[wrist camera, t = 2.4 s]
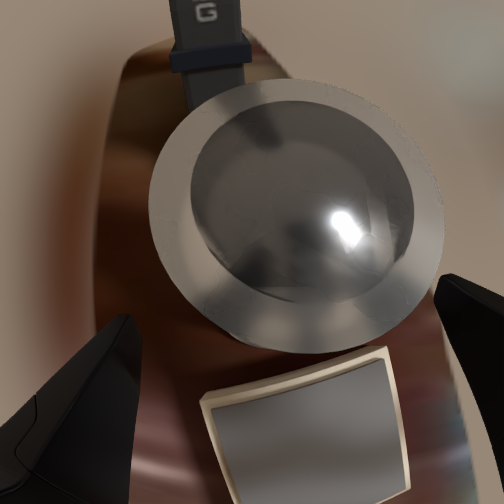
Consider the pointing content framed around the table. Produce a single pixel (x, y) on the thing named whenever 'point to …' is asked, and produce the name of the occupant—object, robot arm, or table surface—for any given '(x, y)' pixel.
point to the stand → (313, 434)
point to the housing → (296, 216)
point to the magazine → (208, 47)
